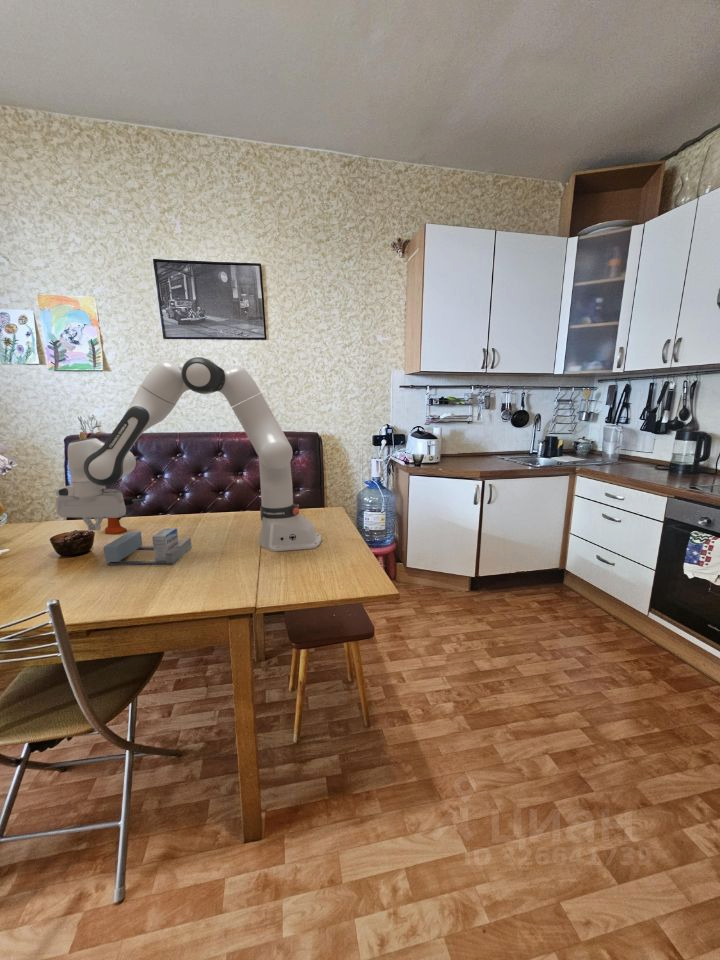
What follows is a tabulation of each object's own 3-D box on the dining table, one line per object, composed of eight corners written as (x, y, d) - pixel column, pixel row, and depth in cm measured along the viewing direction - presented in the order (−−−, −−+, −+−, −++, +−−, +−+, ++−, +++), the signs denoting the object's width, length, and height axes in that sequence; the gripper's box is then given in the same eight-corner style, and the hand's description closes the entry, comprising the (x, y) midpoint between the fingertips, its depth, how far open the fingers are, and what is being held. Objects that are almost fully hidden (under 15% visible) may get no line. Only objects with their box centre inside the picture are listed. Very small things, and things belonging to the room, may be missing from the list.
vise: (191, 548, 136) (190, 537, 135) (172, 565, 122) (171, 553, 121) (132, 548, 136) (131, 537, 135) (107, 565, 122) (105, 553, 121)
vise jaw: (142, 545, 135) (140, 531, 134) (118, 561, 122) (116, 546, 121) (131, 545, 135) (129, 531, 134) (105, 561, 122) (103, 546, 121)
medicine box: (168, 561, 125) (165, 536, 123) (154, 561, 125) (151, 535, 123) (179, 552, 133) (177, 527, 131) (167, 551, 133) (164, 527, 131)
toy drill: (148, 531, 149) (139, 493, 146) (102, 536, 150) (92, 499, 147) (156, 527, 154) (147, 490, 151) (111, 532, 155) (101, 496, 152)
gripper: (127, 486, 127) (132, 527, 130) (64, 486, 127) (70, 526, 130) (115, 491, 121) (120, 533, 124) (49, 490, 121) (56, 532, 124)
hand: (94, 529), depth 127 cm, fingers closed
